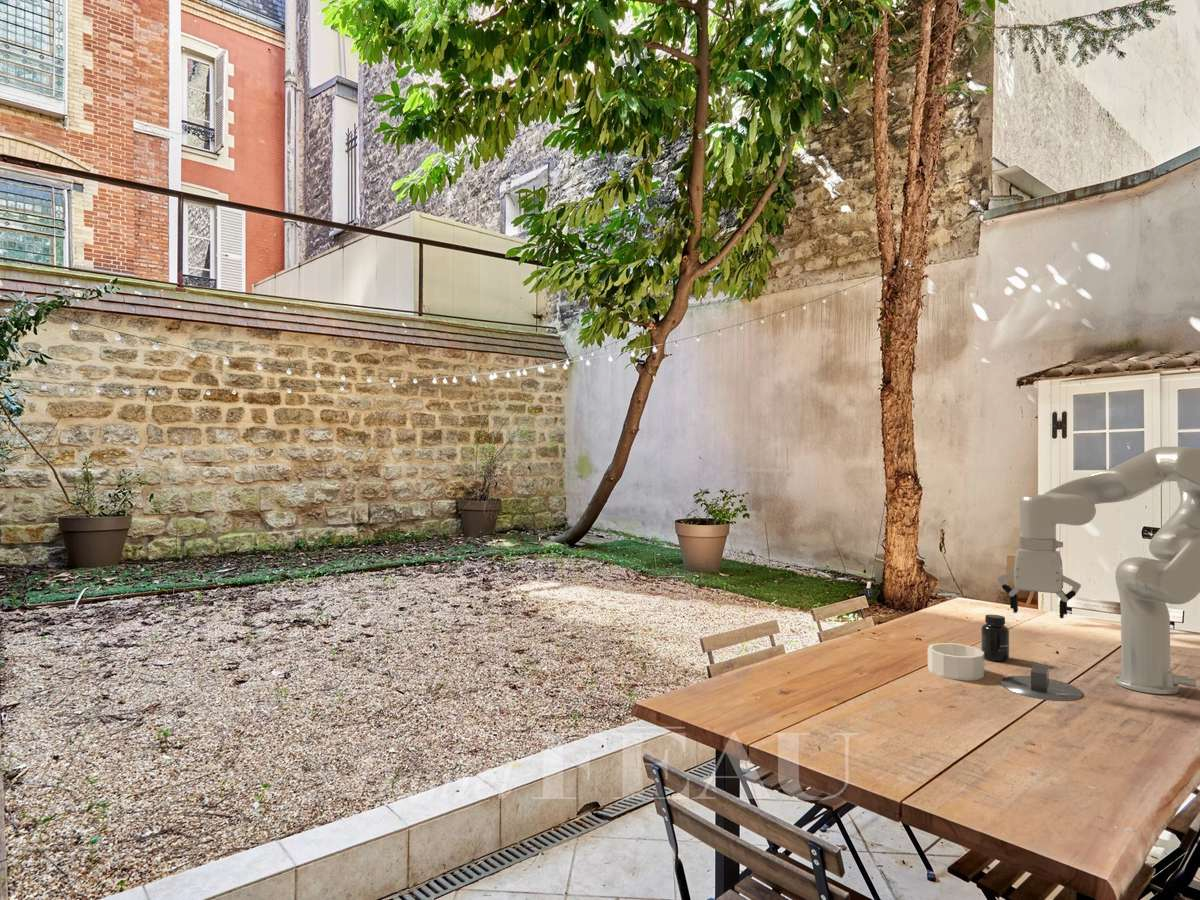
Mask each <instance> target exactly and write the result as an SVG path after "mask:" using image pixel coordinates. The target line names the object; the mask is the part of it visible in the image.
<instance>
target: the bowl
mask: <svg viewBox="0 0 1200 900" xmlns="http://www.w3.org/2000/svg"><path fill="white" fill-rule="evenodd" d="M926 649H927V669H928V671H929V672H930V673H931V674H933V675H935V676H938V677H940V676H941V678H944V679H948V678H949V679H948V680H955V681H977V680H978V681H979V680H982V679H983V678H984V677H985V673H986V672H985V659H984V652H983V651H981V649H980V648H979V647H975V646H971V645H967V644H961V643H954V642H937V643H931V644H929V645H928V646H927V648H926Z"/></svg>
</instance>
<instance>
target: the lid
mask: <svg viewBox="0 0 1200 900" xmlns="http://www.w3.org/2000/svg"><path fill="white" fill-rule="evenodd" d="M1049 672H1050V667H1049V665H1048V664H1041V663H1033V664H1032V667H1031V670H1030V675H1010V676H1006V677H1003V678H1001V679H1000V681H999V682H1000V683H999V684H1000V685H1001V687H1002V688H1004V689H1005V690H1007V691H1009V692H1011V693H1014V694H1017V695H1020V696H1023V697H1028V698H1032V699H1036V700H1037V699H1039V700H1042V701H1043V700H1045V701H1054V702H1055V701H1056V702H1057V701H1058V702H1066V701H1076V700H1079V699H1081V698H1082V697H1083V692H1082V690H1081V689H1079V688H1078V687H1077V686H1074V685H1072V684H1069V683H1067V682H1064V681H1060V680H1056V679H1052V678H1050V677H1049V676H1050V673H1049Z"/></svg>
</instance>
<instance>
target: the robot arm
mask: <svg viewBox="0 0 1200 900" xmlns="http://www.w3.org/2000/svg"><path fill="white" fill-rule="evenodd" d="M1169 482H1176V484H1177V488H1178V490H1179V496H1180V497H1179V498H1180V502H1179V505H1178V507H1177V508H1176V510H1175V511H1174V513H1172V515H1171V516H1170V517H1169V518H1168V519H1167V520H1166V522H1164V524H1163V525H1162V526H1161V527H1160V528H1159V529H1158V530H1157V532H1155V534H1154V535H1153V536H1152V538H1151V539H1150V542H1149V544H1148V549H1149V552H1150V554H1151V555H1152V556H1153V557H1154V558H1155V559H1153V558H1149V557H1143V556H1142V557H1141V556H1135V557H1129V558H1125V559H1123V560H1122V561H1121V562H1119V564H1118V566H1117V567H1116V569H1115V575H1114V576H1115V585H1116V588H1117V591H1118V597H1119V602H1120V603H1119V604H1120V644H1121V645H1120V650H1121V651H1120V652H1121V653H1120V654H1121V656H1120V657H1121V658H1120V659H1121V660H1120V661H1121V662H1120V663H1121V673H1118V674H1115V675H1114V677H1113V681H1114V683H1115V684H1116V685H1118V686H1121V687H1123V688H1126V689H1128V690H1132V691H1137V692H1141V693H1146V694H1154V695H1155V694H1156V695H1175V694H1178V693H1179V692H1180V686H1179V685H1181V686H1187V687H1191V688H1196V687H1197V679H1196V678H1192V677H1189V676H1187V675H1183V674H1182V675H1178V674H1176V673H1173V670H1172V668H1171V619H1170V618H1171V617H1170V612H1169V609H1168V606H1167V604H1170V605H1177V606H1179V605H1184V604H1186V603H1187V604H1188V603H1189V602H1190V601H1193V600H1194V599H1195V598H1196V597H1197V596H1198V595H1199V594H1200V448H1198V447H1193V446H1158V447H1154V448H1152V449H1149V450H1146V451H1145V452H1142V453H1140V454H1138V455H1136V456H1134V457H1132V458H1130V459H1127V460H1125V461H1124V462H1122V463H1120V464H1117V465H1115V466H1113V467H1111V468H1109V469H1106V470H1103V471H1099V472H1096V473H1093V474H1089V475H1086V476H1083V477H1079V478H1077V479H1073V480H1071V481H1067V482H1064V483H1062V484H1061V485H1060V484H1059V486H1056V487H1054V488H1052V489H1049V490H1048V491H1046V492H1044V493H1043V494H1025V495H1023V496H1021V497H1020V498H1019V548H1016V550H1015V551H1016V552H1015V557H1014V566H1013V567H1014V568H1013V571H1010V572H1008V573H1004V574H1002V575H999V576H998V577H997V581H998V582H999V585H1000V586H1001V588H1002V589H1003V590H1004V591H1005V593H1007V594H1008V596H1009V598H1010V601H1009V602H1010V609H1012V613H1013V614H1016V613H1018V611H1019V596H1018V593H1019V592H1020V591H1025V592H1026V591H1027V592H1037V593H1047V594H1056V596H1058V598H1059V599H1060V600H1059V618H1060V619H1064V616H1065V615H1068V602H1069V600H1071V599H1072V598H1074V597H1075V596H1076V595H1077V594H1078V592H1079V591H1080V589H1081V588H1082V584H1081V583H1080V582H1077V581H1076V580H1073V579H1072V578H1069V577H1068V576H1065V575H1064V570H1063V559H1062V555H1061V552H1060V551H1058V550H1057V549H1058V548H1064V541H1060V540H1057V525H1058V524H1059V525H1060V524H1061V525H1068V526H1083V525H1087V524H1088V523H1090V522H1091V521H1092V520H1093V519H1095V517H1096V513H1097V510H1096V509H1097V508H1096V506H1095V505H1099V504H1110V503H1118V502H1119V503H1120V502H1125V501H1129V500H1132V499H1135V498H1136V497H1139V496H1141V495H1143V494H1145V493H1147V492H1149V491H1151V490H1153V489H1155V488H1158V487H1160V486H1161V485H1164V484H1166V483H1169ZM1009 579H1013V586H1014V587H1013V588H1012V587H1011V586H1010V585H1009V584H1008V583H1007V582H1006V581H1007V580H1009ZM1064 583H1065V584H1067V585H1068V586H1069V585H1070V586H1071V587H1072V588H1071V589H1070V591H1069V592H1067V593H1065V592H1064V591H1063V588H1064Z"/></svg>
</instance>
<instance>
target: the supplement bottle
mask: <svg viewBox="0 0 1200 900" xmlns="http://www.w3.org/2000/svg"><path fill="white" fill-rule="evenodd" d="M984 618H985V619H984V624H983V625H982V626H981V628H980V629H981V632H980V634H981V638H980V639H981V641H980V643H981V645H980V646H981V649H980V650H981V651H983V652H984V660H987V661H990V662H995V663H1004V662H1005V663H1006V662H1008V661H1009V660H1010V630H1009V628H1008V627H1007V626H1006V625H1005V624H1006V618H1005V616H1002V615H999V614H986V615H985V617H984Z"/></svg>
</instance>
